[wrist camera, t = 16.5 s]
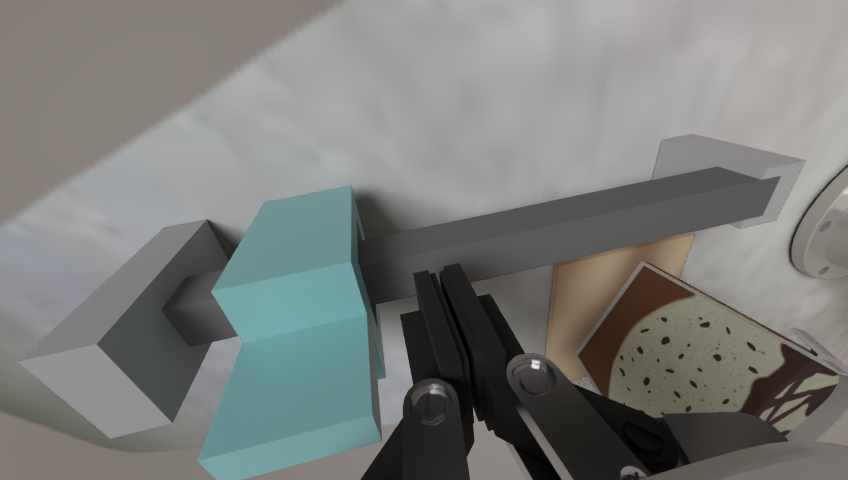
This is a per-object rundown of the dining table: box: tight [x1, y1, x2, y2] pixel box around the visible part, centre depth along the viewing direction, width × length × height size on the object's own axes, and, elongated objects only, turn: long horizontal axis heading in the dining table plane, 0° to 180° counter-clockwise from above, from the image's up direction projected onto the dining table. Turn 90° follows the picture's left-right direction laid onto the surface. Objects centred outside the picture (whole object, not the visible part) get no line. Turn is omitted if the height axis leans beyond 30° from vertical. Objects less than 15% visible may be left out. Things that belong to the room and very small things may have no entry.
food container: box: [574, 261, 848, 442], centre depth 21 cm, size 12×6×10 cm, turn 162°
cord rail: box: [18, 134, 806, 439], centre depth 15 cm, size 29×4×8 cm, turn 98°
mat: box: [545, 232, 695, 380], centre depth 25 cm, size 10×13×1 cm
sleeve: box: [198, 186, 386, 480], centre depth 12 cm, size 4×6×10 cm
